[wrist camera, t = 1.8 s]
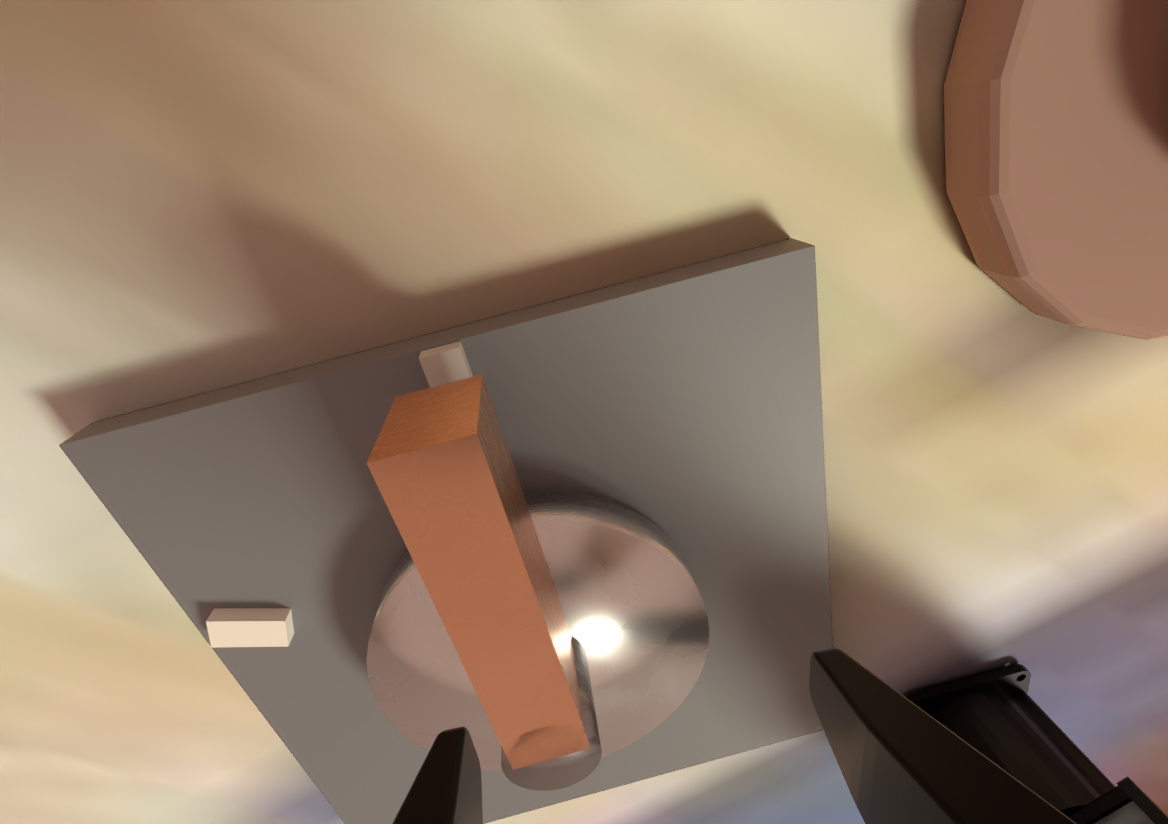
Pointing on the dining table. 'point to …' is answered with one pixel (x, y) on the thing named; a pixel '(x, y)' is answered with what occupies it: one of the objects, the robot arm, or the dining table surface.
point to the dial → (521, 602)
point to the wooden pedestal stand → (1065, 156)
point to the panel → (543, 464)
